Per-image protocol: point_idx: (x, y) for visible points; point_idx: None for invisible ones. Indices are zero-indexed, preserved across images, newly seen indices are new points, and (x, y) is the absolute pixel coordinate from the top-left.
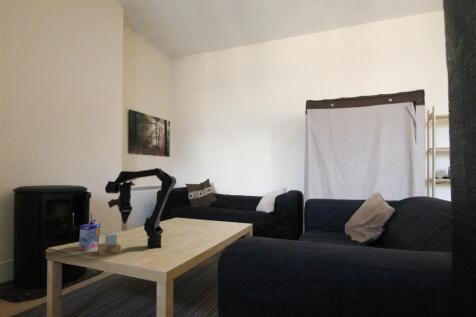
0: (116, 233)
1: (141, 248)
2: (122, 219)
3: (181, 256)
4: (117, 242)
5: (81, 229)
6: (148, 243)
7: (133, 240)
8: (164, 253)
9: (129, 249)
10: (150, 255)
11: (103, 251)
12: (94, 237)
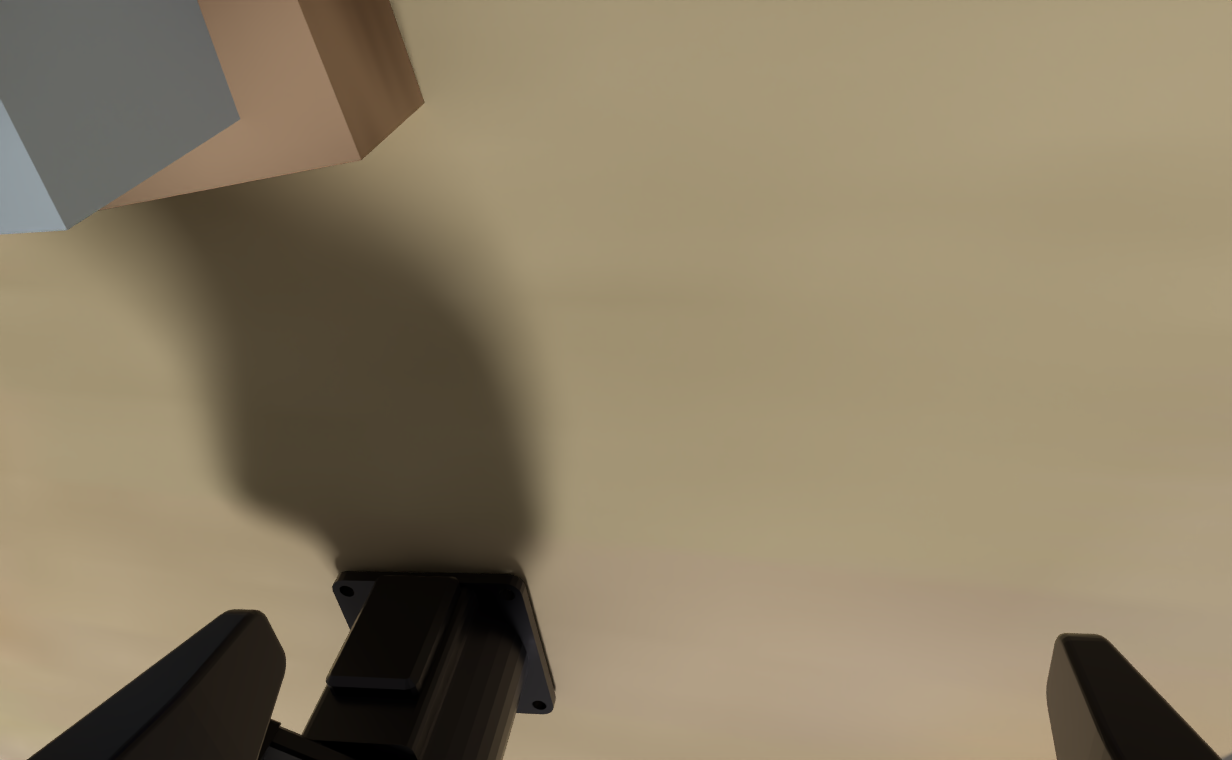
0: (2, 231)
1: (388, 486)
2: (1077, 713)
3: (9, 743)
4: (294, 154)
5: None
6: (355, 621)
7: (1138, 426)
8: (110, 660)
9: (349, 320)
10: (13, 534)
11: None
12: None
